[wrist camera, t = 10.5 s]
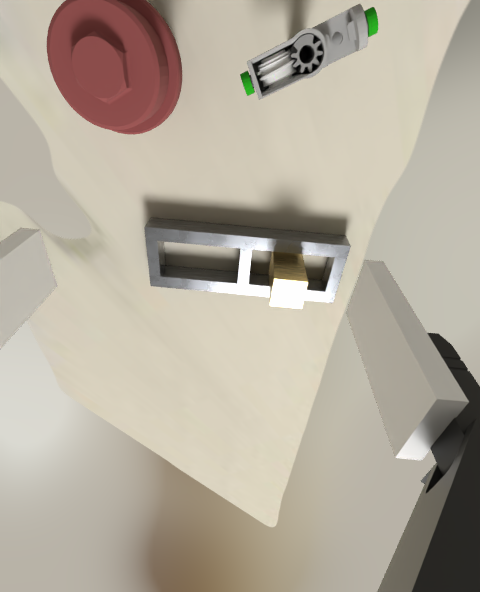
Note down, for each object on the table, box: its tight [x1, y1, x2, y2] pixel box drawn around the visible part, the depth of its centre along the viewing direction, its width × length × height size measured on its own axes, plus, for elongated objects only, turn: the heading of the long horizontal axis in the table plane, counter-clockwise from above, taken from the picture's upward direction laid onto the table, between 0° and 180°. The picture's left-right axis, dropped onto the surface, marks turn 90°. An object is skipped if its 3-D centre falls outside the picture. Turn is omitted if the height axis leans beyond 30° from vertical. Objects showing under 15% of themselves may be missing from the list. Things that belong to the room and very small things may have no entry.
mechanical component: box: [240, 4, 378, 100], centre depth 28 cm, size 3×10×10 cm, turn 113°
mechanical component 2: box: [47, 0, 182, 134], centre depth 28 cm, size 12×10×10 cm
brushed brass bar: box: [269, 251, 308, 309], centre depth 43 cm, size 4×4×8 cm
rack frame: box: [145, 218, 351, 303], centre depth 44 cm, size 9×26×3 cm, turn 86°
